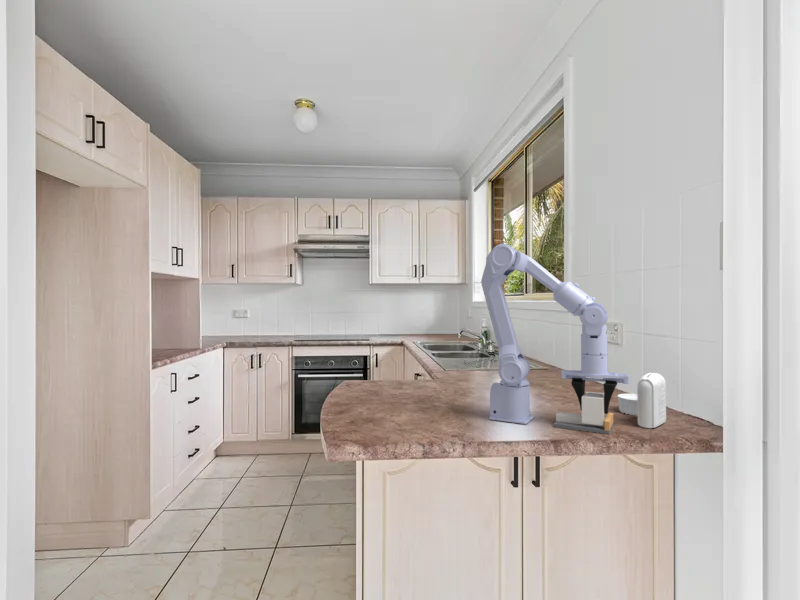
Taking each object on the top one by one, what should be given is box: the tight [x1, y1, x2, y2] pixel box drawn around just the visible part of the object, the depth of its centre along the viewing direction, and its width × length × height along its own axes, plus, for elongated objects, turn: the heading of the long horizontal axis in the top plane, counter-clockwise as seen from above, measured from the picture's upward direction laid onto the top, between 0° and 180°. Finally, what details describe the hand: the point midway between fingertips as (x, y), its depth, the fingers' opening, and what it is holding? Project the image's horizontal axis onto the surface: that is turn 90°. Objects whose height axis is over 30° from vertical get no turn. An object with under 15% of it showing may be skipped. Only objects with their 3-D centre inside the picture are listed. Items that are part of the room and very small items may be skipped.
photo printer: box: [636, 372, 667, 429], centre depth 108 cm, size 10×4×12 cm, turn 134°
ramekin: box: [616, 393, 638, 417], centre depth 119 cm, size 9×9×4 cm
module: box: [581, 391, 608, 426], centre depth 105 cm, size 4×8×6 cm, turn 149°
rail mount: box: [553, 411, 614, 435], centre depth 106 cm, size 12×9×3 cm
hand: (594, 411), depth 105 cm, fingers closed on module, 4 cm apart
